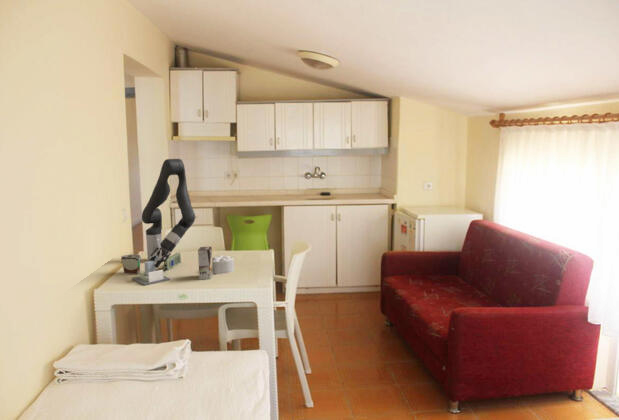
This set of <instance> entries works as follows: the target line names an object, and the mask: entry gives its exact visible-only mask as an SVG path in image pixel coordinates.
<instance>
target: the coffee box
mask: <svg viewBox="0 0 619 420" xmlns="http://www.w3.org/2000/svg"><path fill="white" fill-rule="evenodd" d="M212 249H213V248H212V246H200V247H199V248H198V250H197V256H198V257H197V259H198V260H197V261H198V279H199V280H211V279H212V277H213V275H214V274H213V268H212V258H213V251H212Z"/></svg>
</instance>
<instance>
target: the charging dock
mask: <svg viewBox="0 0 619 420" xmlns="http://www.w3.org/2000/svg"><path fill="white" fill-rule="evenodd" d="M131 280H132V281H133V282H136V283H138V284H140V285H142V286H150V285H154V284H159V283H164V282H168V281H170V280H171V279H170V277H167V276H165V275H164V272H163V269H160V270H156V271H153V272H148V277H147V276H145V273H140V274H139V276H136V277H131Z"/></svg>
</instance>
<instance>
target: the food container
mask: <svg viewBox="0 0 619 420" xmlns="http://www.w3.org/2000/svg"><path fill="white" fill-rule="evenodd" d="M120 260H121V261H122V268H123V269H122V270H123V273H124V274H126V275H127V274H128V275H141V260H142V257H141V255H140V254H126V255H122V256H121V257H120Z"/></svg>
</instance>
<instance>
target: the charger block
mask: <svg viewBox="0 0 619 420" xmlns="http://www.w3.org/2000/svg"><path fill="white" fill-rule="evenodd" d="M155 264H156V262H154V261H148V260H147V261H144V274H145V276H147V277H148V272H153V271H157V270H156V269H157V268H156V267H155V266H154V265H155Z"/></svg>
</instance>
